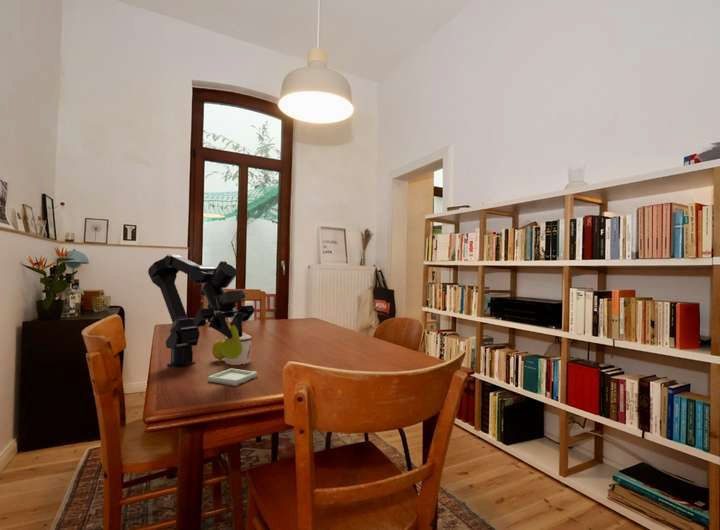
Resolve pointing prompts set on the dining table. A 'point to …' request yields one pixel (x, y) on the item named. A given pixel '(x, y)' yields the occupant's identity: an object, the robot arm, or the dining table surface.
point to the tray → (232, 377)
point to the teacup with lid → (246, 351)
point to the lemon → (218, 349)
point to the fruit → (232, 344)
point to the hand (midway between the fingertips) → (236, 337)
